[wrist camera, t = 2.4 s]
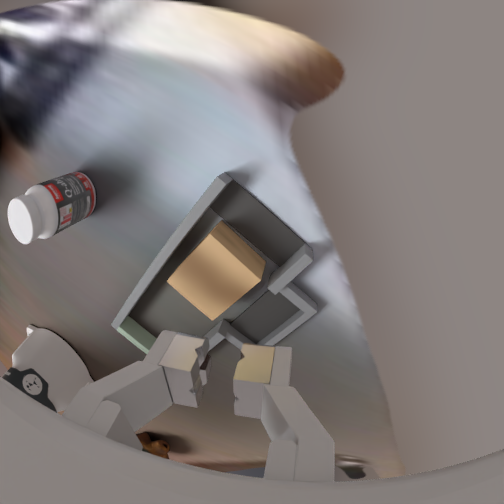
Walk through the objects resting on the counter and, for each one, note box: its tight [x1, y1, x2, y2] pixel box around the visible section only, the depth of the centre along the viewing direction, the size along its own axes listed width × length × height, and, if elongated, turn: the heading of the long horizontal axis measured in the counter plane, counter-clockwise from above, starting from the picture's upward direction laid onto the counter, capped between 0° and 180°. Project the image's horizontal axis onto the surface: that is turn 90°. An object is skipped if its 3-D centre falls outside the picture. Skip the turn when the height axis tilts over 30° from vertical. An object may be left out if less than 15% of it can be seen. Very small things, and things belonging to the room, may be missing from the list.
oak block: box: [167, 220, 266, 321], centre depth 28 cm, size 7×6×4 cm
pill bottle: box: [8, 172, 96, 244], centre depth 25 cm, size 6×6×10 cm
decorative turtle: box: [136, 432, 170, 459], centre depth 48 cm, size 10×15×8 cm, turn 139°
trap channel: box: [111, 172, 317, 354], centre depth 31 cm, size 24×16×2 cm, turn 140°
